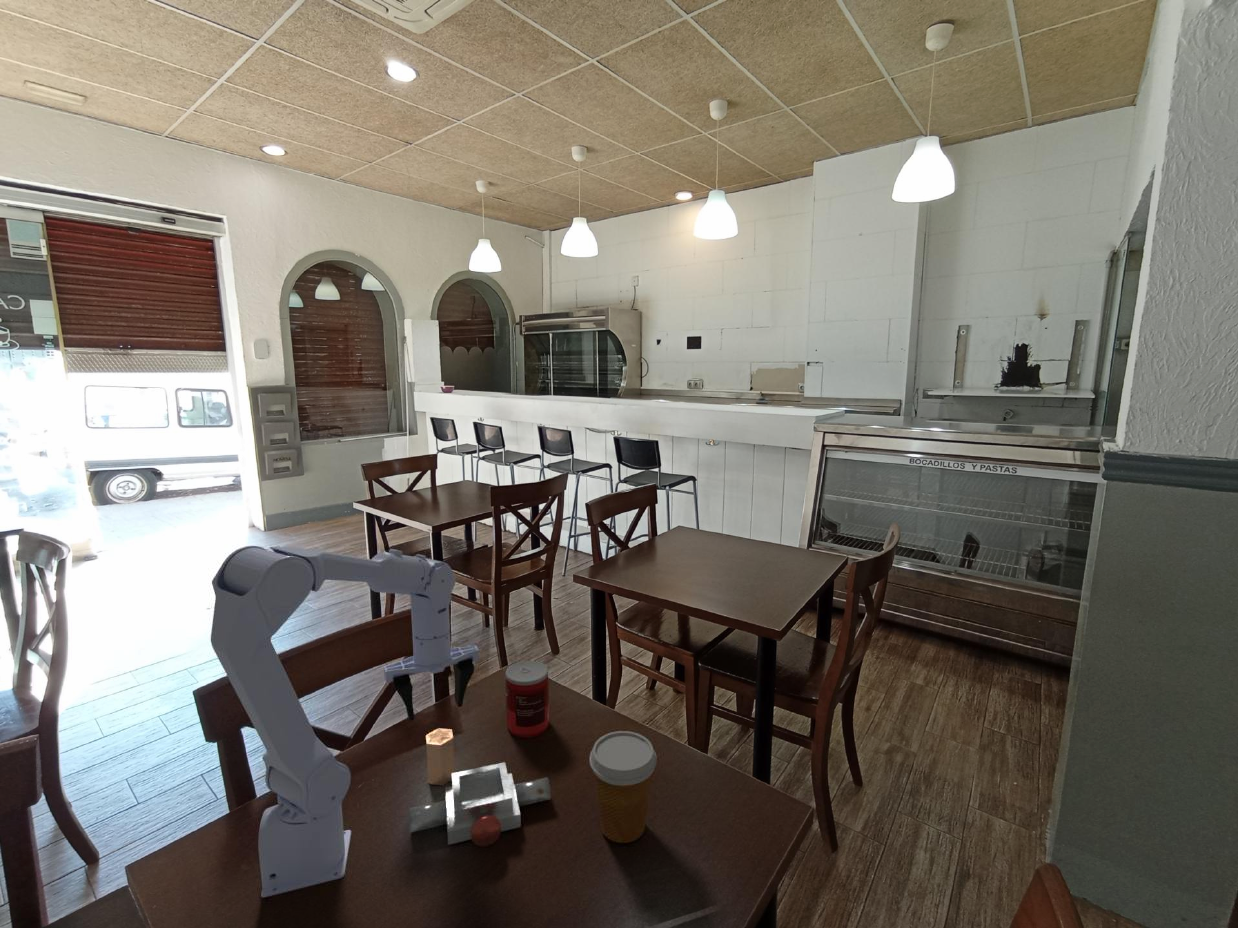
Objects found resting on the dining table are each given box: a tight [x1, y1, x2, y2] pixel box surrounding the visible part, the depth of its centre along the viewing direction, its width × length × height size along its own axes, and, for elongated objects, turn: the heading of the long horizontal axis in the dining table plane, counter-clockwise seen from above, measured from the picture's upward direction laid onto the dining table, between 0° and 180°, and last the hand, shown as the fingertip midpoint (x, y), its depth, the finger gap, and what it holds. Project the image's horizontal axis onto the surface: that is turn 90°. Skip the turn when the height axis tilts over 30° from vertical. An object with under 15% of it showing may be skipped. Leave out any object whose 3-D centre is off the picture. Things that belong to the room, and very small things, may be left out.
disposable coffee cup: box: [588, 730, 658, 844], centre depth 80 cm, size 10×10×12 cm
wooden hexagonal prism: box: [425, 727, 456, 786], centre depth 91 cm, size 4×5×7 cm
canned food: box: [505, 660, 550, 739], centre depth 104 cm, size 8×8×11 cm
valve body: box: [408, 762, 552, 847], centre depth 82 cm, size 20×11×4 cm, turn 109°
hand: (435, 710), depth 92 cm, fingers open, 7 cm apart
